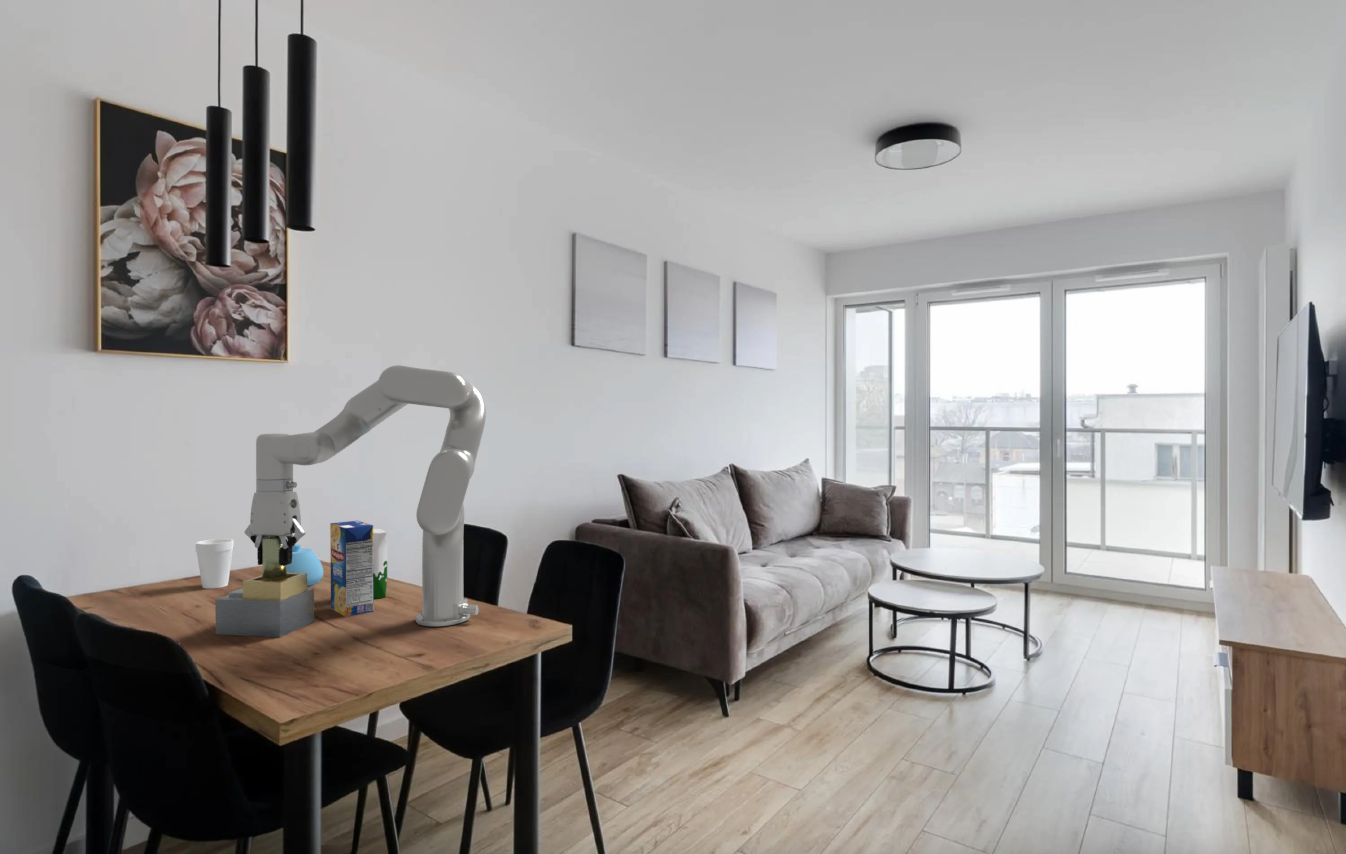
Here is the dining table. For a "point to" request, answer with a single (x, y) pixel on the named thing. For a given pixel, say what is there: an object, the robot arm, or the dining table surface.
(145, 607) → the dining table surface
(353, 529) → the beverage box
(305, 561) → the sugar bowl
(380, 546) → the milk carton
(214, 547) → the foam cup
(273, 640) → the dining table surface
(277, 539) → the green bottle
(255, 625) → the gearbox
